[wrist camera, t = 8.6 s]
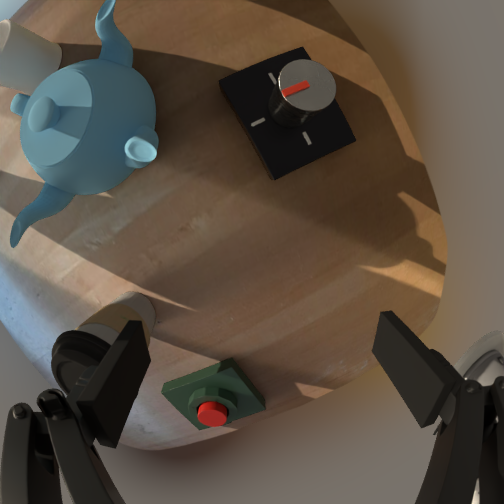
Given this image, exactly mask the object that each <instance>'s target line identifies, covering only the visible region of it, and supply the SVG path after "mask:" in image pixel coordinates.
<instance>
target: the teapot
mask: <svg viewBox="0 0 504 504" xmlns="http://www.w3.org/2000/svg"><path fill="white" fill-rule="evenodd" d="M115 2H116V0H106V1H105V2H104V3H103V5H102V6H101V8H100V10H99V12H98V14H97V17H96V24H95V27H96V32H97V34H98V36H99V37H100V39H101V41H102V49H101V53H100V55H99V58H98V59H90V60H84V61H80V62H77V63H74V64H71V65H69V66H66V67H64V68H62V69H60V70H58V71H56V72H54V73H53V74H51V75H50V76H48V77H47V78H46V79H45V80H43V81H42V82H41V83H40V84H39V86H38V87H37V88H36V89H35V91H34V92H33V94H32V95H31V96H28V95H24V94H20V93H18V94H17V95H16V96H15V97H14V98H13V100H12V103H11V107H10V109H11V111H12V112H14V113H15V114H18V115H20V116H22V120H21V126H20V139H21V145H22V149H23V151H24V154H25V156H26V158H27V160H28V162H29V163H30V165H31V166H32V167H33V169H34V170H35V171H36V173H37V174H38V175H39V176H40V177H41V178H42V179H43V180H44V181H45V184H44V186H43V189H42V190H41V192H40V194H39V196H38V197H37V198H36V199H35V200H34V201H33V202H32V203H31V204H29V205H28V206H26V207H25V208H24V209H23V210H22V211H21V212H20V213H19V215H18V216H17V218H16V219H15V221H14V223H13V226H12V230H11V235H10V244H11V247H12V248H14V247H16V246H17V244H18V243H19V241H20V239H21V237H22V235H23V233H24V232H25V231H26V229H27V228H28V227H29V226H30V225H32V224H33V223H34V222H36V221H39V220H41V219H44V218H47V217H50V216H52V215H55V214H57V213H58V212H60V211H62V210H63V209H64V208H65V207H66V206H67V205H68V204H69V203H70V202H71V200H72V199H73V197H74V196H75V195H76V194H77V195H91V194H98V193H102V192H105V191H107V190H110V189H112V188H114V187H115V186H117V185H119V184H120V183H121V182H123V181H124V180H125V179H126V178H127V177H128V176H129V175H130V174H131V173H132V172H133V171H134V170H135V169H136V168H143V167H145V166H147V165H148V164H149V163H150V162H151V161H152V160H154V159H155V157H156V155H157V149H158V144H159V140H158V136H157V133H156V132H155V131H154V128H155V122H156V104H155V99H154V95H153V92H152V89H151V87H150V85H149V84H148V82H147V81H146V79H145V78H144V77H143V76H142V75H141V74H140V73H139V72H137V71H136V70H135V69H134V68H132V63H133V50H132V46H131V44H130V42H129V41H128V39H127V38H126V37H125V36H124V35H123V34H122V33H121V32H120V31H119V30H118V28H117V27H116V25H115V23H114V21H113V12H114V7H115Z"/></svg>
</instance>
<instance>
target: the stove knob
mask: <svg viewBox="0 0 504 504" xmlns="http://www.w3.org/2000/svg"><path fill="white" fill-rule="evenodd" d="M335 94H336V84H335V80H334V78H333V76H332V74H331V73H330V72H329V70H328V69H327V68H325V67H324V66H323V65H321V64H320V63H318V62H315V61H312V60H306V59H300V60H295V61H292V62H290V63H288V64H287V65H286V66H285V67H284V68H283V69H282V71H281V72H280V75H279V77H278V80H277V82H276V85H275V87H274V90H273V92H272V95H271V97H270V100H269V103H268V109H269V113H270V115H271V117H272V119H273V120H274V121H275V122H276V123H278V124H279V125H281V126H284V127H288V128H296V127H299V126H301V125H303V124H305V123H306V122H307V121H308V120H310V119H311V118H312V117H314V116H315V115H316V114H318V113H319V112H320V111H322V110H323V109H324V108H326V107H327V106H328V105H330V104H331V102H332V101H333V99H334V97H335Z"/></svg>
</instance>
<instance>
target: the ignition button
mask: <svg viewBox="0 0 504 504" xmlns="http://www.w3.org/2000/svg"><path fill="white" fill-rule="evenodd" d="M198 419H199V421H200V422H201V423H202V424H204V425H207V426H211V427H217V426H221V425H223V424H224V423H225V422H226V420H227V409H226V407H225V406H224V405H223V404H221V403H218V402H213V401H207V402H204V403H202V404H201V405H200V406H199V410H198Z"/></svg>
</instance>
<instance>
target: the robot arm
mask: <svg viewBox="0 0 504 504" xmlns="http://www.w3.org/2000/svg"><path fill="white" fill-rule="evenodd" d="M372 352H373V354H374V355H375V357H376V358H377V360H378V361H379V363H380V364H381V366H382V367H383V369H384V370H385V372H386V373H387V375H388V376H389V378H390V380H391V381H392V382H393V384H394V386H395V387H396V389H397V390H398V392H399V394H400V395H401V397H402V398H403V400H404V401H405V403H406V405H407V406H408V408H409V409H410V411H411V412H412V414H413V416H414V417H415V419H416V421H417V422H418V424H419V425H420V427H421V428H423V427H426V426H429V425H431V424H434V422H435V421H436V419H437V417H438V415H440V417H441V418H442V420H441V422H440V424H439V425H438V427H437V429H436V430H435V432H434V434H433V435H435V434H436V433H437V431H438V433H437V438H436V441H435V445H434V449H433V452H432V456H431V460H430V463H429V466H428V469H427V472H426V475H425V478H424V481H423V484H422V487H421V489H420V492H419V495H418V497H417V500H416V502H415V504H504V357H503V356H502V354H501V353H500V352H499V351H497V350H490V351H488V352H486V353H485V354H483V355H482V356H481V357H480V358H479V359H477V360H476V361H475V362H474V363H473V364H472V366H471V367H470V368H469V369H468V370H467V371H466V373H465V374H464V375H463V377H462V376H461V375H460V374H459V373H458V371H457V370H456V369H455V368H454V367H453V366H452V365H450V363H449V362H448V361H447V360H446V359H445V358H444V357H443V355H442V354H440V353H439V352H437V351H436V350H434V349H430V350H429V349H428V348H427V347H426V346H425V345H424V343H422V341H421V340H420V339H419V338H418V337H417V336H416V335H415V334H414V333H413V332H412V331H411V330H410V329H409V328H408V327H407V326H406V325H405V324H404V323H403V322H402V321H401V320H400V319H399V318H398V316H397V315H396V314H395V313H394V312H393V311H384V312H380V317H379V322H378V326H377V331H376V336H375V340H374V344H373V349H372ZM150 362H151V359H150V355H149V351H148V347H147V342H146V338H145V334H144V329H143V324H142V321H141V320H129V321H128V322H127V324H126V325H125V327H124V328H123V329H122V331H121V332H120V334H119V335H118V337H117V338H116V340H115V341H114V343H113V344H112V346H111V347H110V349H109V350H108V352H107V353H106V355H105V356H104V358H103V359H102V361H101V362H100V364H99V366H94V365H91V366H90V367H88V368H87V369H86V370H84V372H83V373H82V375H81V376H80V377H79V379H78V380H77V382H76V385H74V386H73V388H72V390H71V391H70V393H69V394H68V396H67V397H66V398H65V396H64V394H63V392H62V391H60V390H58V389H48V390H45V391H43V392H42V393H41V394H40V395H39V396H38V398H37V405H38V406H39V408H40V409H41V411H42V412H33V410H32V409H31V407H30V406H29V405H28V404H26V403H18V404H16V405H14V406H13V407H12V408H11V409H10V411H9V414H8V418H7V424H6V430H5V436H4V443H3V452H2V462H1V476H0V504H63V503H62V495H61V487H60V478H59V468H60V471H61V474H62V477H63V479H64V482H65V485H66V487H67V490H68V492H69V495H70V497H71V499H72V502H73V504H126V503H125V502H124V500H123V499H122V497H121V495H120V494H119V492H118V490H117V488H116V487H115V485H114V483H113V482H112V480H111V478H110V476H109V474H108V472H107V470H106V468H105V467H104V465H103V462H102V460H101V458H100V456H99V454H98V452H97V450H96V448H95V446H94V445H93V442H94V440H95V437H96V439H97V440H98V442H99V443H100V445H103V446H107V447H111V448H116V447H117V444H118V441H119V439H120V436H121V433H122V431H123V428H124V425H125V423H126V420H127V418H128V415H129V413H130V410H131V408H132V405H133V403H134V400H135V398H136V395H137V393H138V390H139V388H140V386H141V383H142V381H143V378H144V376H145V374H146V371H147V369H148V367H149V364H150Z"/></svg>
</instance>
